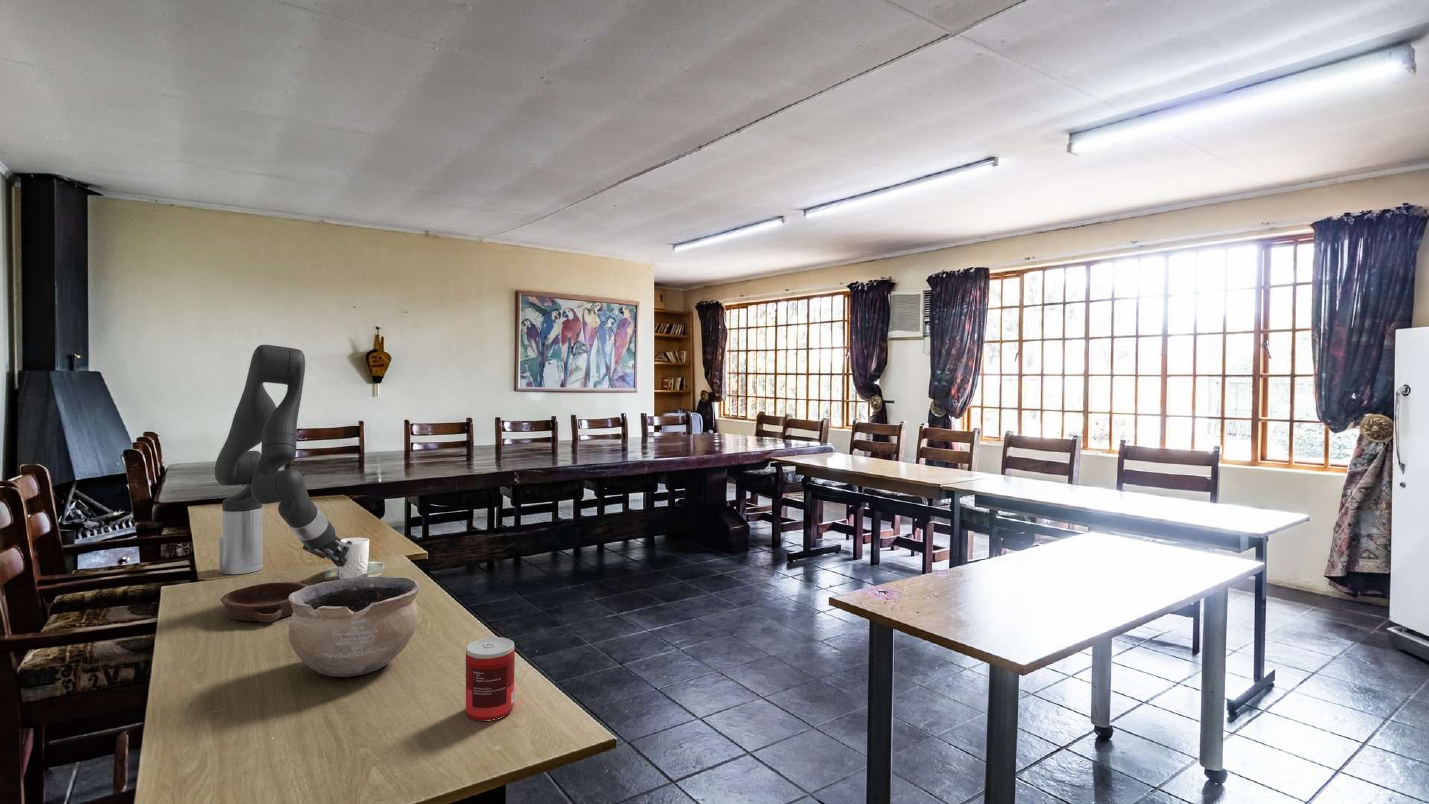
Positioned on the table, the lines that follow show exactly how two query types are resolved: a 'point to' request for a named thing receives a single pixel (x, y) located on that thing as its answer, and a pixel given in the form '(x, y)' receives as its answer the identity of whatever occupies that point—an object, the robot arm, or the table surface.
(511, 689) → the canned food
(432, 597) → the table surface
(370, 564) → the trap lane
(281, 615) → the dish
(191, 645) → the table surface
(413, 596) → the ceramic bowl
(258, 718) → the table surface
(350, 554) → the white cup
